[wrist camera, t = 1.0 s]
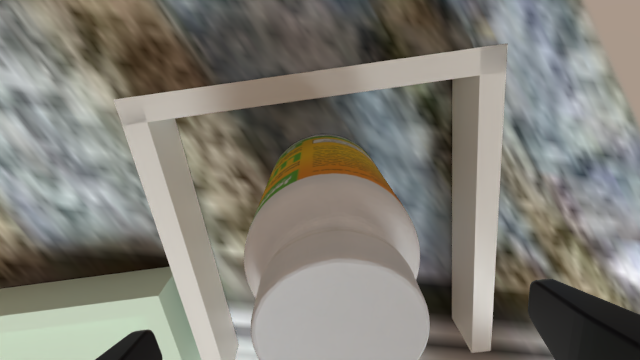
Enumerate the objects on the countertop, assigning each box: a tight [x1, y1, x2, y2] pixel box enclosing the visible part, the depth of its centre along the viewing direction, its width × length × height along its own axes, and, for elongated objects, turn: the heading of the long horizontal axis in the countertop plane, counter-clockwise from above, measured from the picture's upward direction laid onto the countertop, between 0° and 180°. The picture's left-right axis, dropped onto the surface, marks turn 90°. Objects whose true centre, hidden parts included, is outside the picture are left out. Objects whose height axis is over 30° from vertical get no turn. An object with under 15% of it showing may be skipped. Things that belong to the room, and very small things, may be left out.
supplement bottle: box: [244, 135, 430, 360], centre depth 11 cm, size 5×5×10 cm
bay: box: [114, 43, 508, 360], centre depth 16 cm, size 15×15×2 cm
